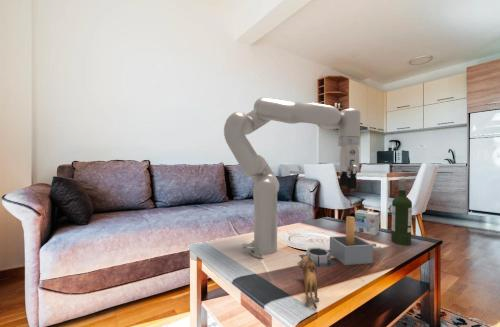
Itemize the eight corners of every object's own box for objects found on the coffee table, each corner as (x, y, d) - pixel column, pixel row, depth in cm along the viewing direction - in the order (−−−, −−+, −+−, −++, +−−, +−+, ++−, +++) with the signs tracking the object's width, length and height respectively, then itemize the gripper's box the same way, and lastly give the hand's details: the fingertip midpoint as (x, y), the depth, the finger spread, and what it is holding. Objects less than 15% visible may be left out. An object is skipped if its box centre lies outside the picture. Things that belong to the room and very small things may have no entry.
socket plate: (310, 271, 85) (310, 258, 85) (298, 258, 96) (298, 247, 96) (339, 269, 87) (339, 256, 87) (324, 257, 98) (325, 245, 98)
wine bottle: (414, 245, 111) (416, 179, 110) (395, 244, 112) (397, 179, 111) (406, 239, 119) (407, 178, 118) (388, 239, 120) (389, 177, 119)
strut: (358, 262, 91) (359, 219, 90) (345, 261, 91) (345, 218, 91) (354, 256, 96) (355, 215, 95) (341, 256, 96) (341, 215, 96)
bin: (344, 269, 87) (345, 246, 87) (329, 256, 98) (329, 236, 98) (372, 267, 89) (373, 245, 89) (354, 255, 100) (355, 235, 100)
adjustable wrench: (320, 245, 112) (320, 241, 112) (320, 241, 118) (320, 237, 118) (381, 252, 104) (381, 247, 104) (378, 246, 110) (378, 242, 110)
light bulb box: (354, 231, 132) (354, 211, 132) (357, 228, 137) (358, 209, 137) (375, 235, 125) (376, 214, 125) (379, 232, 130) (379, 212, 130)
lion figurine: (296, 281, 78) (296, 254, 78) (313, 282, 78) (313, 254, 78) (306, 310, 63) (307, 276, 63) (327, 311, 63) (327, 276, 63)
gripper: (367, 140, 84) (365, 190, 85) (352, 143, 102) (350, 184, 102) (344, 140, 85) (343, 189, 86) (333, 143, 102) (332, 184, 103)
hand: (347, 186), depth 94 cm, fingers open, 9 cm apart
